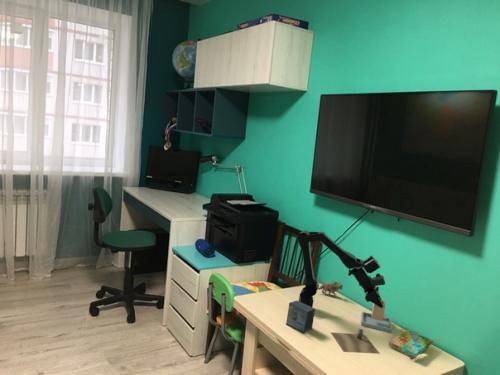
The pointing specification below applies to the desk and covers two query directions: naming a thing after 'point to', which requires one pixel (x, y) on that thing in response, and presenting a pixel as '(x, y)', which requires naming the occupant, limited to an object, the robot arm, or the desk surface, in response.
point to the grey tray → (376, 322)
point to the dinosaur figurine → (331, 287)
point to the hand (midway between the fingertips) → (382, 305)
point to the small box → (300, 316)
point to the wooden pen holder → (378, 311)
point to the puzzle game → (410, 343)
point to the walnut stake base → (354, 342)
